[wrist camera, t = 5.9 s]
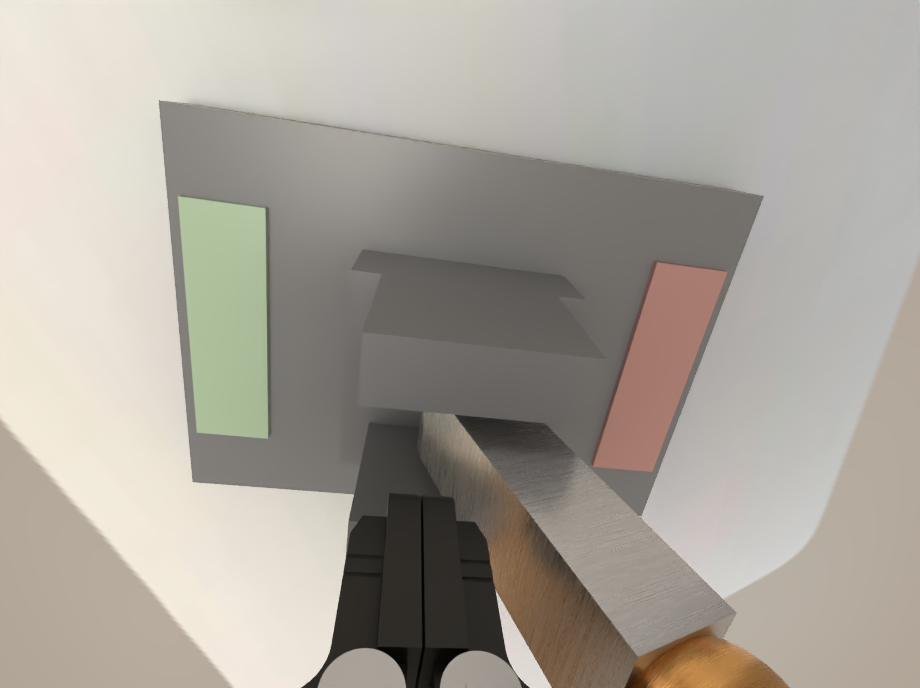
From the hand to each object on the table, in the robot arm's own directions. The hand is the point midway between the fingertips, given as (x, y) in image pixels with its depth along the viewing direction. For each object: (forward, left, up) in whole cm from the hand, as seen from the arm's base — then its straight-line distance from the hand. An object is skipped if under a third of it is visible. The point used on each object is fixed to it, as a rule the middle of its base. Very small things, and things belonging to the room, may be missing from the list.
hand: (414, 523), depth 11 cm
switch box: (0, +1, -12) cm, 12 cm away
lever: (0, +1, -6) cm, 6 cm away
